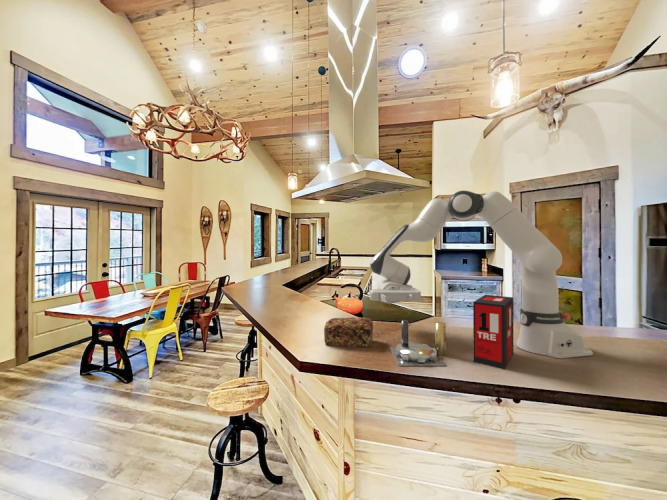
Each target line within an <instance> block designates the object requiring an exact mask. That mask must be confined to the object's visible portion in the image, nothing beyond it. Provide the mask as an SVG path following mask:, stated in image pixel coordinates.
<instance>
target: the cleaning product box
mask: <svg viewBox="0 0 667 500" xmlns="http://www.w3.org/2000/svg"><path fill="white" fill-rule="evenodd" d="M472 303H473V308H472V311H473V323H472V324H473V337H472V338H473V363H477V364H480V365H485V366H489V367H493V368H497V369H501V370H505V369H506V368H507V366H508V364H509V363H510V360H511V359H512V357H513V355H514V297H513V296H501V295H492V294H491V295H490V294H485V295H483V296H481V297H479V298H477V299H476V300H474V301H472ZM508 362H509V363H508Z"/></svg>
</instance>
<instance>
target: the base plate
mask: <svg viewBox="0 0 667 500" xmlns="http://www.w3.org/2000/svg"><path fill="white" fill-rule="evenodd" d="M389 348H390V351H391V354H392V356H393V358H394V359H395V361H396V363H397V365H398V367H446V365H447V364H446V363H445V362H444V360H443V359H442V358H441V356H439V355H436V359H435V360H428V361H425V362H418V361H413V360H409V361H407V360H404V359H402V357H401V356H400V355H396V349H395V348H397V346H396V347H394V346H393V347H391V346H390V347H389Z"/></svg>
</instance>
